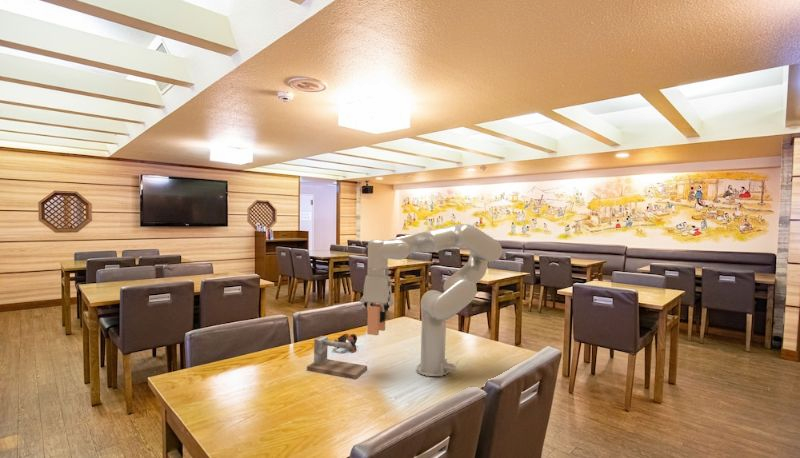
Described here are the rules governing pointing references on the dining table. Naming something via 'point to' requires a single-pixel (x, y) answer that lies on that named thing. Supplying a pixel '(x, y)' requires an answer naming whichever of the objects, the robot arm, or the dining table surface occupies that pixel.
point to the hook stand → (332, 366)
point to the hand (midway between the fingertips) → (376, 320)
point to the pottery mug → (351, 339)
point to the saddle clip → (374, 320)
